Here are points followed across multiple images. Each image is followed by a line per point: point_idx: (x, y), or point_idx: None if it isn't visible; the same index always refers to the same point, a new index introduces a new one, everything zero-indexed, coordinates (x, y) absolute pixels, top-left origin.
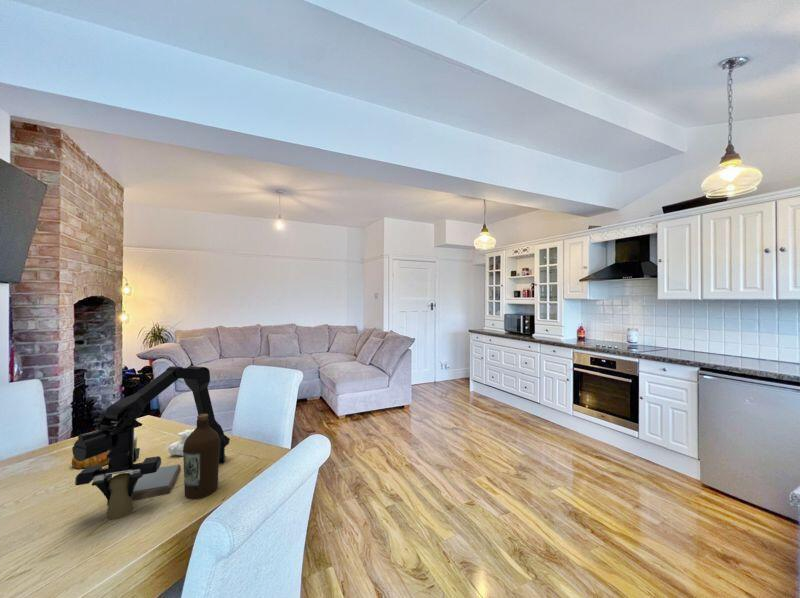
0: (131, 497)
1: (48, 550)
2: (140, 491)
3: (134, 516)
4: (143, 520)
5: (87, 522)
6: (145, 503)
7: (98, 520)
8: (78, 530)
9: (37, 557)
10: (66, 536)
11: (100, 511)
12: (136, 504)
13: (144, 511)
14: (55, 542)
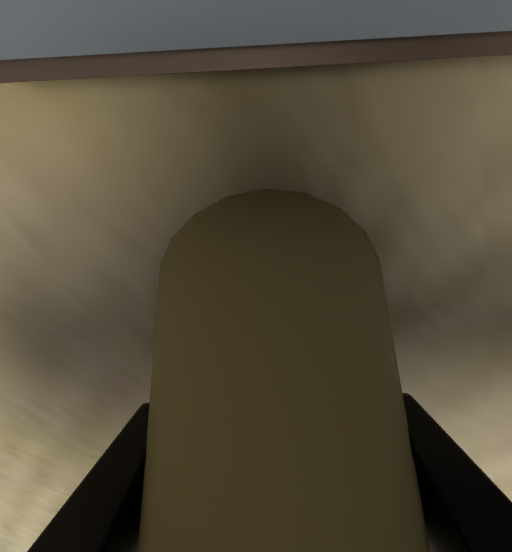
0: (395, 357)
1: (32, 520)
2: (463, 30)
3: (415, 381)
4: (485, 439)
5: (51, 351)
6: (494, 198)
7: (132, 351)
8: (61, 420)
9: (22, 543)
10: (28, 453)
11: (37, 204)
12: (397, 185)
13: (488, 340)
14: (7, 481)
